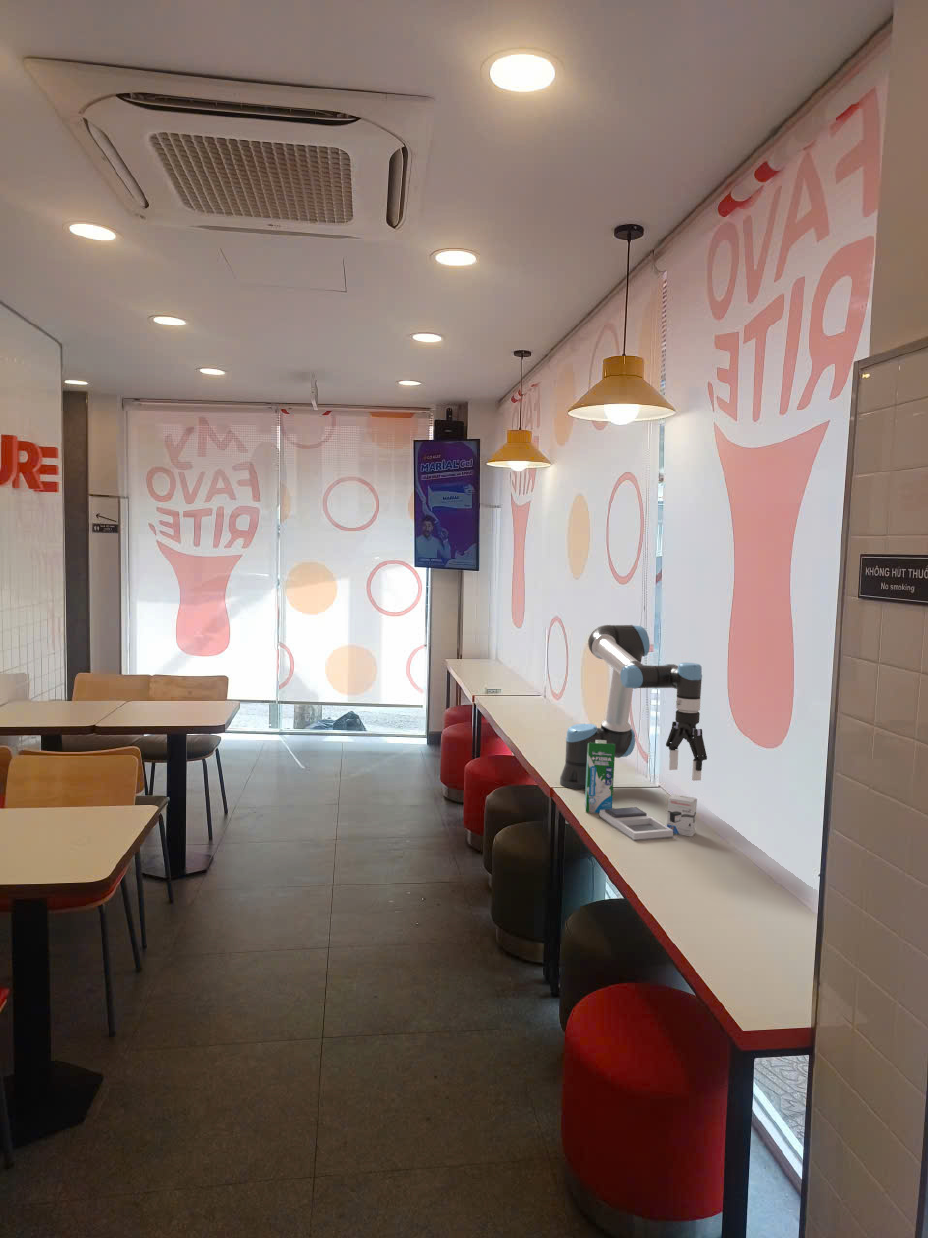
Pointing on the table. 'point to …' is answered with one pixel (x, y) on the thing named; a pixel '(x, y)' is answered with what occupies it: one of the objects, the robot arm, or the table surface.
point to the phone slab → (625, 812)
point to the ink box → (682, 814)
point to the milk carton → (599, 776)
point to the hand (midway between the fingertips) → (684, 774)
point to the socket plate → (638, 827)
